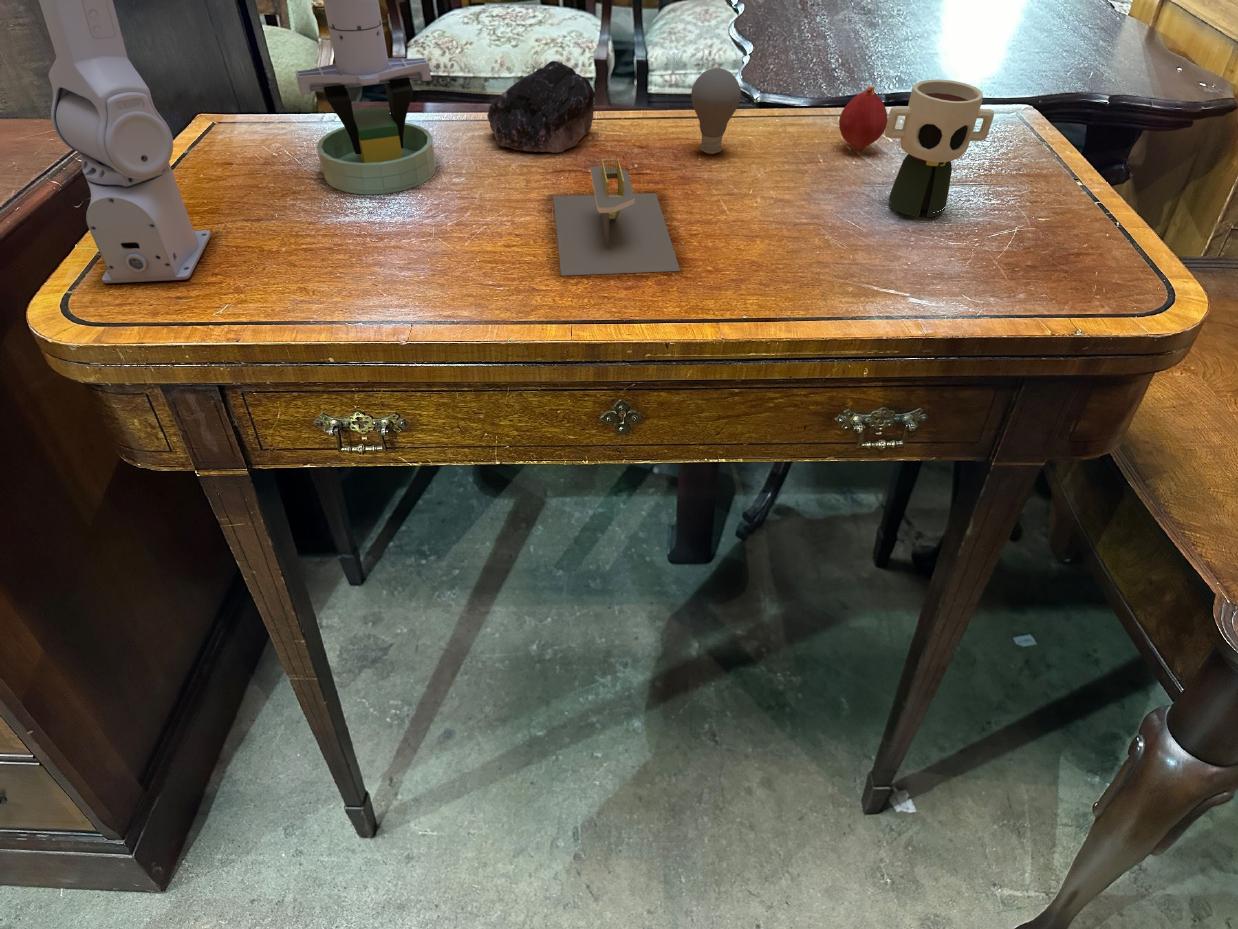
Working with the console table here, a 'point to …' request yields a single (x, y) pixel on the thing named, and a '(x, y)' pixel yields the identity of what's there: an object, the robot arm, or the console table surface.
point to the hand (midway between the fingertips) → (378, 148)
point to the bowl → (377, 163)
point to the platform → (612, 229)
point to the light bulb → (715, 105)
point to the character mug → (934, 141)
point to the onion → (863, 120)
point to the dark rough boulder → (544, 110)
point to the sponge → (377, 135)
